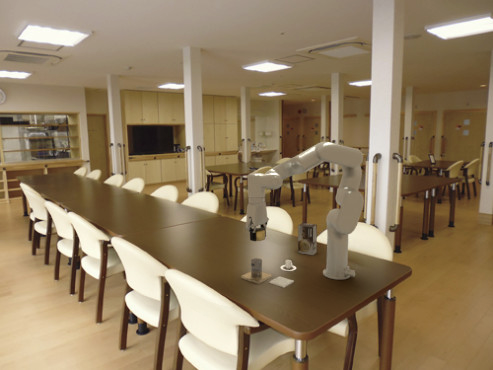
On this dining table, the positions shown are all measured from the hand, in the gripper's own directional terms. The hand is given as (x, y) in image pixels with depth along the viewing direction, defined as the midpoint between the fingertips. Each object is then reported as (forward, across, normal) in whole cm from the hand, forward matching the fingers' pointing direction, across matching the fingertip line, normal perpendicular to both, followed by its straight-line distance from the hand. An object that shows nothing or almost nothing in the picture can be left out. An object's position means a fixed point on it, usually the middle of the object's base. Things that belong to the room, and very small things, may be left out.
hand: (258, 238), depth 161 cm
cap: (0, 0, 0) cm, 0 cm away
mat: (+19, -2, +11) cm, 22 cm away
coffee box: (+20, -45, -1) cm, 49 cm away
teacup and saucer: (+20, -21, +5) cm, 30 cm away
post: (+19, +1, -1) cm, 19 cm away
